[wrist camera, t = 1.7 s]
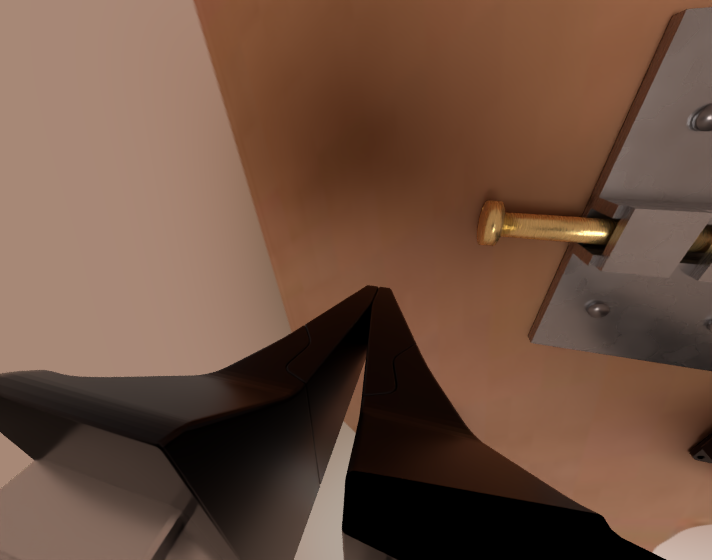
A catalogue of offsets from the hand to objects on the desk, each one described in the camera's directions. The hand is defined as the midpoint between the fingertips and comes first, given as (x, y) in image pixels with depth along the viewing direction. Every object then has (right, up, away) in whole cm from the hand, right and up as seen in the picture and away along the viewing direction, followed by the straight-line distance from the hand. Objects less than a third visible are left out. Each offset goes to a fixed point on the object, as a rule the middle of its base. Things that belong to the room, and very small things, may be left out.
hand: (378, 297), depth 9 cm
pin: (+15, +4, +7) cm, 17 cm away
